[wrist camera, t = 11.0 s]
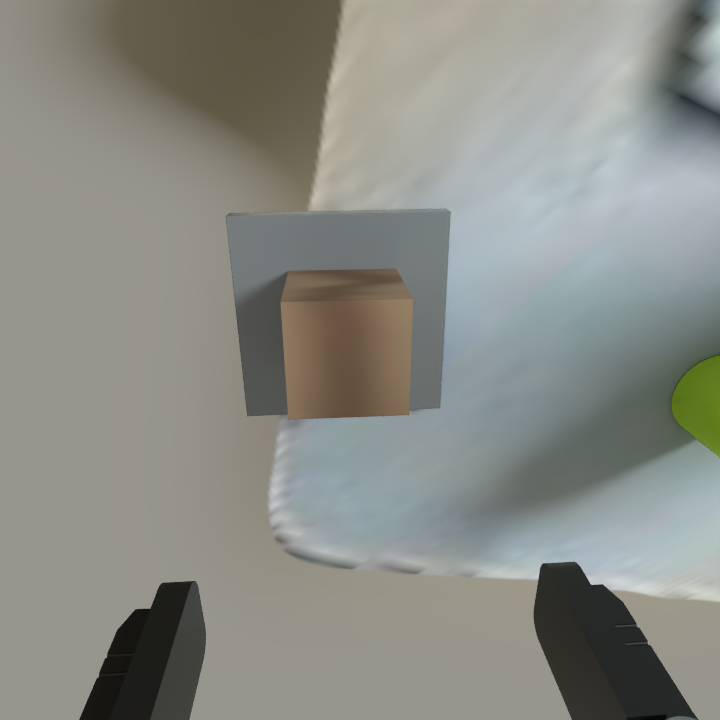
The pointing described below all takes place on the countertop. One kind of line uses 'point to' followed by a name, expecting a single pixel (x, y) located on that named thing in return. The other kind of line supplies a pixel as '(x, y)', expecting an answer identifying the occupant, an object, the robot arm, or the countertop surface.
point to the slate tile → (335, 252)
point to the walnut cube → (346, 343)
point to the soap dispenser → (700, 403)
